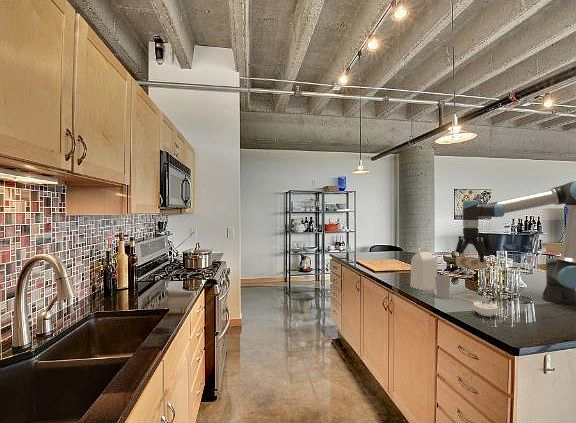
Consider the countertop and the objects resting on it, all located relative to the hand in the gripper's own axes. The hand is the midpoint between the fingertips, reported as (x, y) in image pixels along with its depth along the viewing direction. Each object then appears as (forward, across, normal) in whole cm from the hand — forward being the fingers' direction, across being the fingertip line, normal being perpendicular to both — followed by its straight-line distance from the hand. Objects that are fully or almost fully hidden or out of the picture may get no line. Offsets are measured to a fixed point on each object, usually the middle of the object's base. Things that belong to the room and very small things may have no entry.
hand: (470, 266), depth 174 cm
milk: (+18, -28, -7) cm, 34 cm away
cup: (+18, -7, -14) cm, 24 cm away
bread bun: (0, 0, 0) cm, 0 cm away
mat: (+18, 0, 0) cm, 18 cm away
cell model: (+18, +23, -20) cm, 35 cm away
